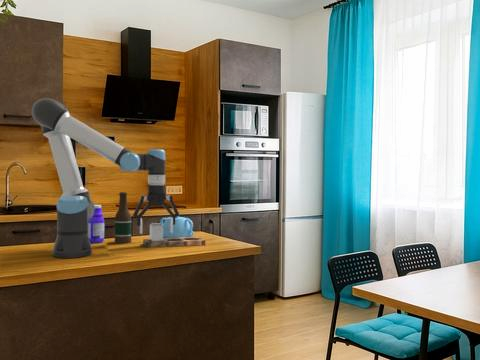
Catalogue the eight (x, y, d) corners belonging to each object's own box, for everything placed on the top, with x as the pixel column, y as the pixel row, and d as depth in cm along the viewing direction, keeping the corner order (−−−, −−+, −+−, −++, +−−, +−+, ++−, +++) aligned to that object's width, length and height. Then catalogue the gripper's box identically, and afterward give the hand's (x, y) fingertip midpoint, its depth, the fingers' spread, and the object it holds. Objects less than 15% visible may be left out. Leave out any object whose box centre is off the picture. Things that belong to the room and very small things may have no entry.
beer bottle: (134, 243, 223) (134, 191, 222) (128, 246, 215) (128, 192, 215) (117, 243, 224) (117, 191, 223) (111, 246, 216) (111, 192, 215)
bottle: (99, 240, 231) (99, 204, 230) (106, 241, 227) (106, 205, 227) (86, 242, 225) (86, 205, 225) (93, 243, 222) (93, 206, 221)
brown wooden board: (146, 250, 206) (146, 242, 206) (143, 246, 216) (143, 239, 216) (205, 247, 215) (205, 240, 215) (199, 243, 225) (199, 236, 225)
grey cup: (151, 246, 210) (151, 224, 209) (149, 244, 214) (149, 223, 214) (163, 245, 211) (163, 224, 211) (160, 244, 216) (160, 222, 216)
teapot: (150, 240, 233) (150, 214, 233) (171, 234, 252) (172, 210, 251) (185, 243, 226) (186, 216, 225) (205, 237, 244) (205, 212, 243)
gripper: (128, 185, 204) (128, 235, 205) (186, 184, 213) (185, 232, 213) (126, 184, 211) (126, 232, 212) (182, 184, 220) (182, 230, 220)
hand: (156, 232), depth 213 cm, fingers open, 13 cm apart
